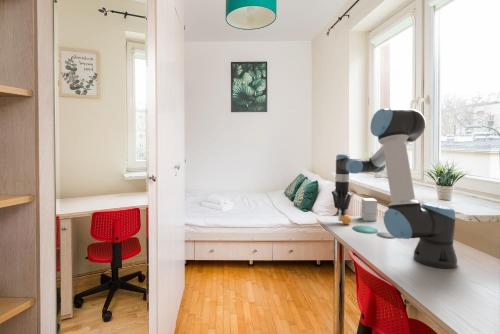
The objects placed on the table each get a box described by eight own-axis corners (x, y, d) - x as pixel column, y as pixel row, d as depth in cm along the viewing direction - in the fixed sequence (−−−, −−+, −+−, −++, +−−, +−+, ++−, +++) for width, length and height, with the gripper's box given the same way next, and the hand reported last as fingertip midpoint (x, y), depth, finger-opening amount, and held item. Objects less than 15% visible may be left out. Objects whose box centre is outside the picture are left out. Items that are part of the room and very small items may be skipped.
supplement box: (372, 217, 184) (373, 198, 183) (376, 221, 177) (377, 200, 175) (360, 217, 185) (361, 197, 184) (364, 220, 177) (364, 200, 176)
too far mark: (399, 236, 150) (399, 235, 150) (390, 239, 145) (390, 239, 145) (382, 231, 158) (382, 231, 158) (373, 234, 152) (373, 234, 152)
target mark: (382, 230, 160) (382, 229, 160) (369, 235, 152) (369, 234, 152) (361, 224, 170) (361, 224, 170) (347, 228, 162) (347, 228, 162)
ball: (353, 224, 170) (353, 215, 169) (347, 226, 167) (347, 216, 166) (344, 222, 174) (345, 213, 174) (339, 223, 171) (339, 214, 170)
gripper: (355, 181, 168) (354, 221, 170) (336, 179, 178) (335, 217, 180) (348, 182, 163) (346, 224, 166) (328, 180, 174) (327, 219, 176)
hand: (340, 220), depth 173 cm, fingers closed
